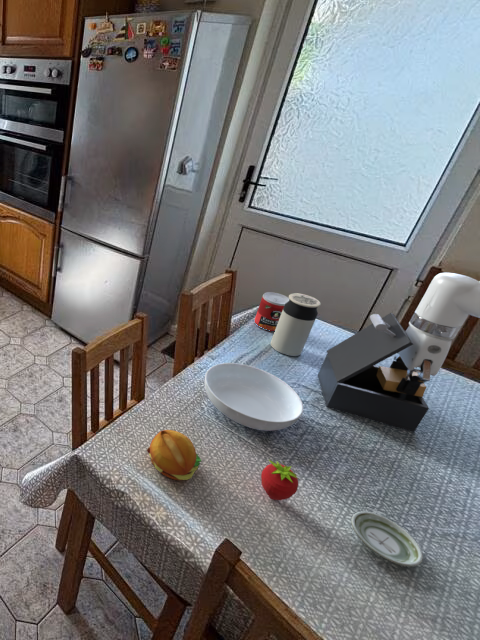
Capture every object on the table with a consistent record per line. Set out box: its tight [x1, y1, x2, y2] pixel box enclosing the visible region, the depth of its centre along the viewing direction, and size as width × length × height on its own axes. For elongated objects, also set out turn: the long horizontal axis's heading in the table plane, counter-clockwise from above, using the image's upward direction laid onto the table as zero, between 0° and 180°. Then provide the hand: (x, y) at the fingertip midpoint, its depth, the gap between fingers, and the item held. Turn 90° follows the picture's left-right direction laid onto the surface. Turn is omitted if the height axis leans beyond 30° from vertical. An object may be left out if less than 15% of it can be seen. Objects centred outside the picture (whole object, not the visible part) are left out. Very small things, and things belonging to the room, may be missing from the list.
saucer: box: [350, 510, 424, 567], centre depth 76 cm, size 10×10×2 cm
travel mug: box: [269, 292, 321, 357], centre depth 125 cm, size 8×8×18 cm
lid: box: [326, 312, 413, 383], centre depth 104 cm, size 18×14×5 cm
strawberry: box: [260, 459, 299, 501], centre depth 83 cm, size 6×8×10 cm
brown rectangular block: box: [377, 365, 427, 398], centre depth 103 cm, size 7×6×3 cm
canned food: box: [254, 291, 289, 332], centre depth 137 cm, size 8×8×11 cm
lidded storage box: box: [317, 353, 430, 433], centre depth 107 cm, size 17×14×8 cm
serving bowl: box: [204, 362, 304, 432], centre depth 105 cm, size 21×21×7 cm
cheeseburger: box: [146, 429, 203, 482], centre depth 90 cm, size 10×11×10 cm
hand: (400, 383), depth 103 cm, fingers open, 6 cm apart
